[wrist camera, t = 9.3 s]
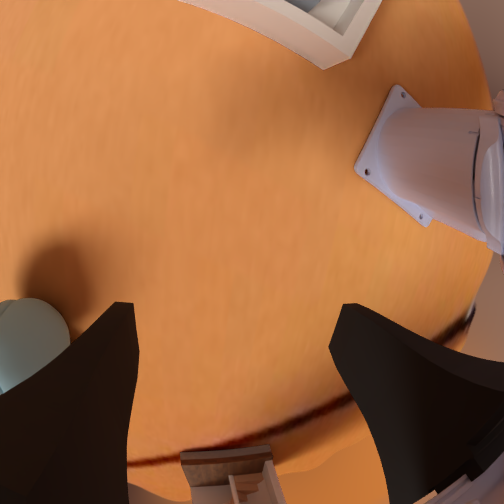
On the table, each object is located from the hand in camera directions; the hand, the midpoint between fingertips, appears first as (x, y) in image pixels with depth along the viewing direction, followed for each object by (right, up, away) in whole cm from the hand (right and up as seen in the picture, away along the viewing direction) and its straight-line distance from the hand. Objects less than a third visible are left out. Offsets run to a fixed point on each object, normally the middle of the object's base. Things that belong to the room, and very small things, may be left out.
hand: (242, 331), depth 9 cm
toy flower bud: (-16, -5, +9) cm, 19 cm away
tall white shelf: (-3, -27, +21) cm, 34 cm away
